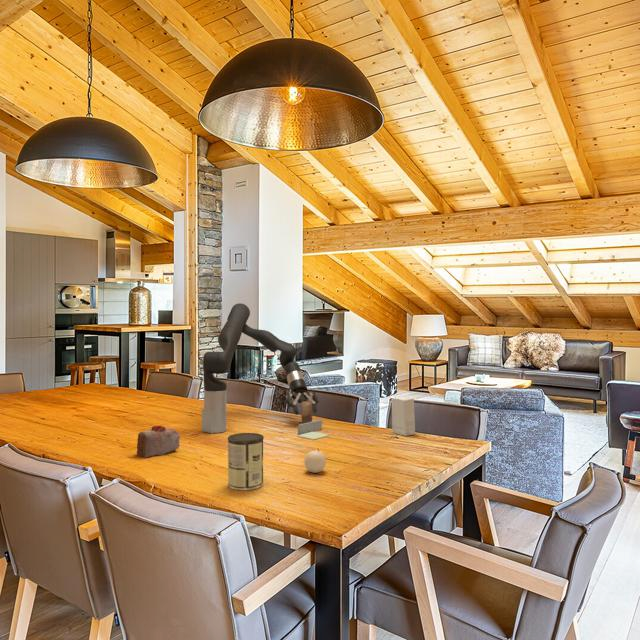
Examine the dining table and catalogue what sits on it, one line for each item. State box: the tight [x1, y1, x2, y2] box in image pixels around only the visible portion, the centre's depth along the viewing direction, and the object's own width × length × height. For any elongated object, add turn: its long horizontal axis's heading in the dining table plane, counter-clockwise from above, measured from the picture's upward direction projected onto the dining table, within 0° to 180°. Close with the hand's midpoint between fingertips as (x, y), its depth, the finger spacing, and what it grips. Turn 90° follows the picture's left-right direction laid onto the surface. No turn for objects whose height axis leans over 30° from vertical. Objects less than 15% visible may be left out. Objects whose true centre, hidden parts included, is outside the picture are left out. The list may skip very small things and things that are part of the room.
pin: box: [301, 400, 313, 424], centre depth 236 cm, size 5×5×11 cm
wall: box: [297, 419, 323, 435], centre depth 227 cm, size 14×1×4 cm, turn 140°
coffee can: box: [227, 432, 264, 491], centre depth 157 cm, size 10×10×14 cm
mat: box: [296, 431, 331, 441], centre depth 220 cm, size 10×9×1 cm
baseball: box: [303, 450, 327, 474], centre depth 171 cm, size 7×7×7 cm
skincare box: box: [391, 396, 416, 437], centre depth 225 cm, size 8×6×15 cm
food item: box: [136, 425, 181, 458], centre depth 192 cm, size 14×8×10 cm, turn 139°
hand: (306, 413), depth 237 cm, fingers open, 8 cm apart
